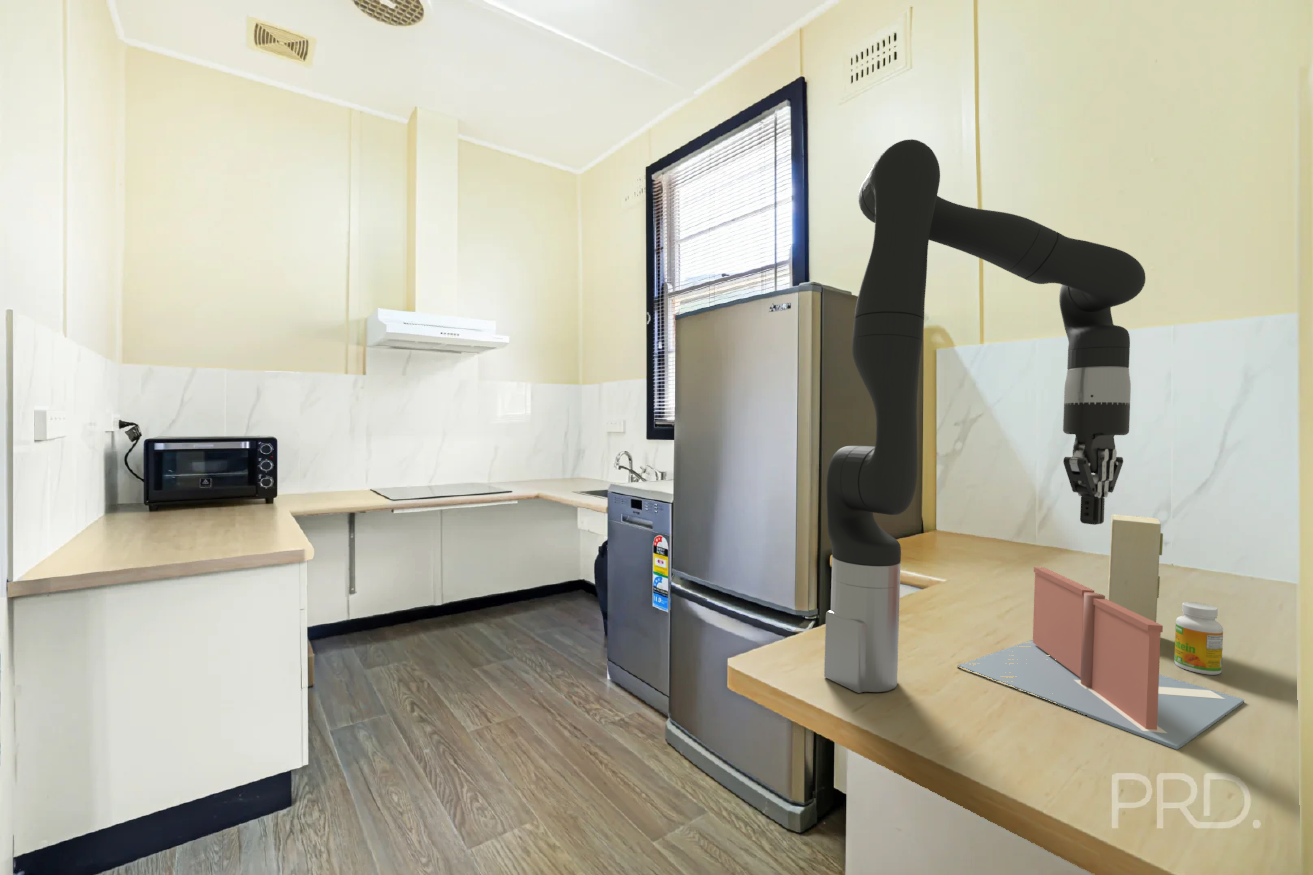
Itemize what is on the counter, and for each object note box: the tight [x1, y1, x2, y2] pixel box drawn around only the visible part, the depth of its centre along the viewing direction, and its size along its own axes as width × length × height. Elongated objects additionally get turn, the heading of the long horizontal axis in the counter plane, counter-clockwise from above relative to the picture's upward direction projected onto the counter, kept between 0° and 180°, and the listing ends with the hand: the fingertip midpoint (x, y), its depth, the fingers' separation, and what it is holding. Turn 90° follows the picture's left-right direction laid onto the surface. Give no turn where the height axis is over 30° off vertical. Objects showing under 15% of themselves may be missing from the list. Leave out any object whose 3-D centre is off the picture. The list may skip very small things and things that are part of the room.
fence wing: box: [1032, 566, 1095, 678], centre depth 91 cm, size 14×2×13 cm, turn 172°
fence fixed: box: [1081, 592, 1164, 730], centre depth 78 cm, size 14×2×13 cm, turn 172°
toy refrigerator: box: [1107, 514, 1164, 623], centre depth 104 cm, size 8×7×21 cm
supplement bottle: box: [1173, 601, 1224, 676], centre depth 91 cm, size 5×5×10 cm
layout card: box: [957, 639, 1245, 751], centre depth 85 cm, size 24×26×1 cm
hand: (1091, 523), depth 84 cm, fingers closed
